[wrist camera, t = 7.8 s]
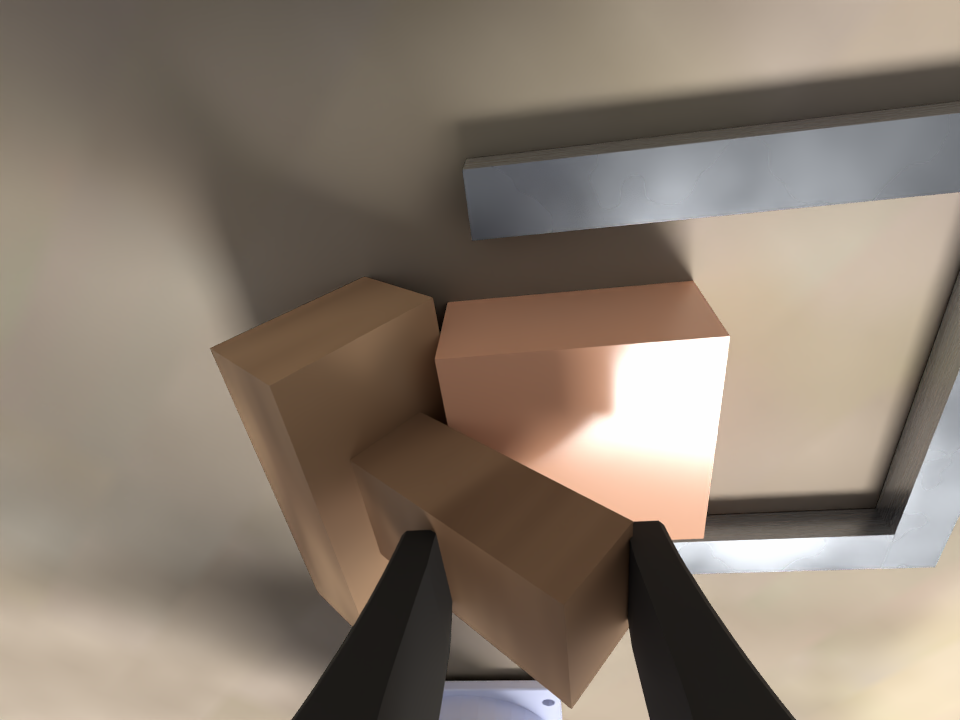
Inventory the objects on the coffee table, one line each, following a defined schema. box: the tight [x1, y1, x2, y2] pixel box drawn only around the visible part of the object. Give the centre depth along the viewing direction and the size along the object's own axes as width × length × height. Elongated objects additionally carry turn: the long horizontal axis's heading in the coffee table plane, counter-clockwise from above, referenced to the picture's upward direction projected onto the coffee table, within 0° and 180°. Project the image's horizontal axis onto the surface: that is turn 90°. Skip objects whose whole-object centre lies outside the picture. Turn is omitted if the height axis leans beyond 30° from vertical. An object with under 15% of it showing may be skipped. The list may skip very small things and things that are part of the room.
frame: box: [463, 101, 960, 574], centre depth 14 cm, size 13×12×1 cm
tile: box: [435, 281, 730, 540], centre depth 14 cm, size 6×6×3 cm
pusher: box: [210, 277, 633, 709], centre depth 12 cm, size 8×4×8 cm
